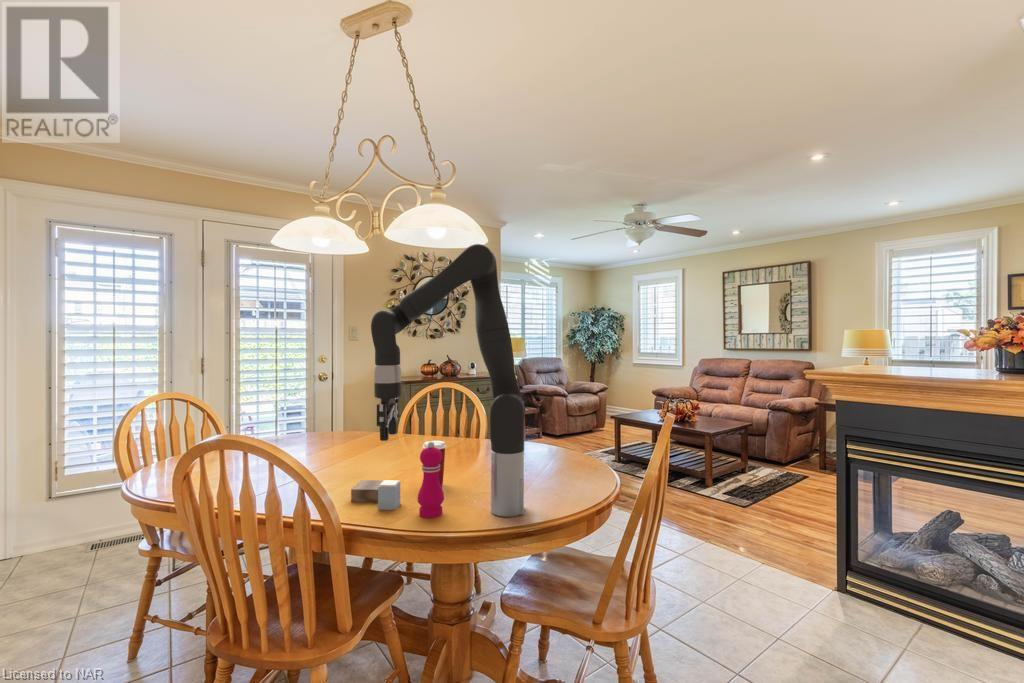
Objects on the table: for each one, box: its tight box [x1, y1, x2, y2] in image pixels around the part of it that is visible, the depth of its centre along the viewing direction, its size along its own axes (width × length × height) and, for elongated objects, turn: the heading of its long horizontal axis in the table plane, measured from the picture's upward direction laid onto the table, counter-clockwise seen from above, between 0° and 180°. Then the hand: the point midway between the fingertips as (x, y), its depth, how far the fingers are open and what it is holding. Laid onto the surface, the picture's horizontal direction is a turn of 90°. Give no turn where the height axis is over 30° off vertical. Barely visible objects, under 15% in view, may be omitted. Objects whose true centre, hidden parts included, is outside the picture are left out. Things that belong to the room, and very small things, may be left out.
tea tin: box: [377, 479, 401, 511], centre depth 139 cm, size 5×5×7 cm
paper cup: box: [422, 440, 447, 487], centre depth 159 cm, size 8×8×14 cm
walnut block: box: [350, 479, 385, 503], centre depth 148 cm, size 9×9×4 cm
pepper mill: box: [417, 442, 445, 519], centre depth 134 cm, size 7×7×20 cm
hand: (388, 437), depth 139 cm, fingers open, 8 cm apart
